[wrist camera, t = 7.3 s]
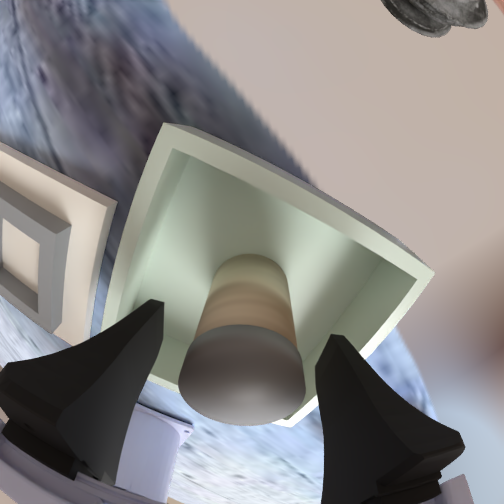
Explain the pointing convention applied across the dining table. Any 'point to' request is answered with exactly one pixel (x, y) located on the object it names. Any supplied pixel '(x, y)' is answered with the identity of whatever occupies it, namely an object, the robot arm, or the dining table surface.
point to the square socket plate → (51, 244)
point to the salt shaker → (438, 14)
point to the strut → (245, 347)
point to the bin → (254, 252)
